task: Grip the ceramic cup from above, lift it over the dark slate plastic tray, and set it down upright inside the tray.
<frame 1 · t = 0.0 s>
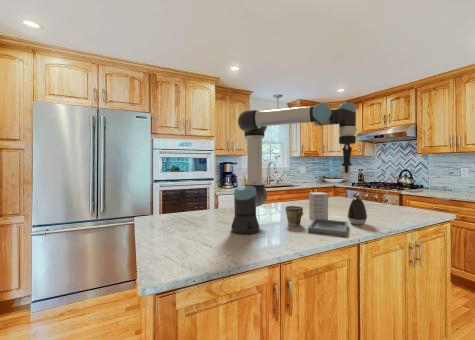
hand: (346, 179, 120), 28 cm above the worktop, tool pointing down, fingers open, 13 cm apart
ceramic cup: (295, 225, 141), on the worktop
dark grey egg shape: (357, 223, 143), on the worktop
tray: (328, 229, 132), on the worktop
supplement box: (318, 219, 153), on the worktop
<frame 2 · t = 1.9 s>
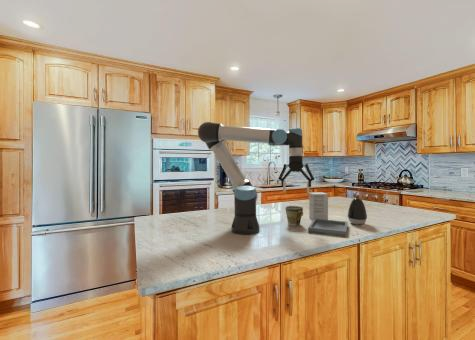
hand: (296, 192, 140), 19 cm above the worktop, tool pointing down, fingers open, 13 cm apart
nothing on the worktop moved.
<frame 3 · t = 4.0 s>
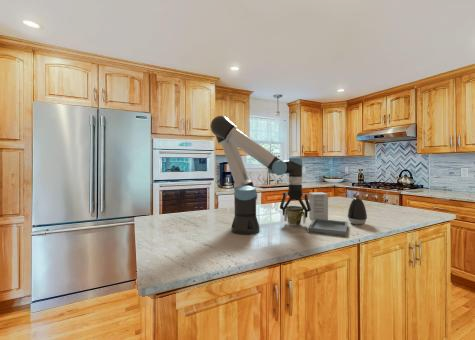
hand: (294, 222, 141), 2 cm above the worktop, tool pointing down, fingers closed on ceramic cup, 10 cm apart
ceramic cup: (295, 225, 140), on the worktop, touching gripper
everything else where it was.
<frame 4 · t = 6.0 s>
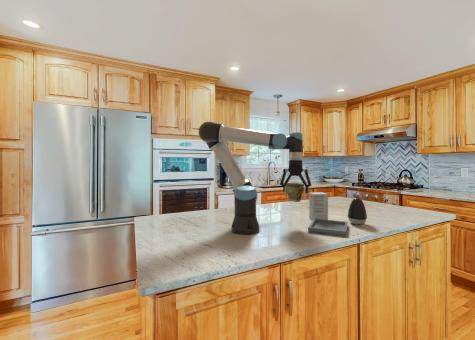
hand: (295, 198, 140), 16 cm above the worktop, tool pointing down, fingers closed on ceramic cup, 10 cm apart
ceramic cup: (296, 201, 140), point 14 cm above the worktop, touching gripper
everything else where it was.
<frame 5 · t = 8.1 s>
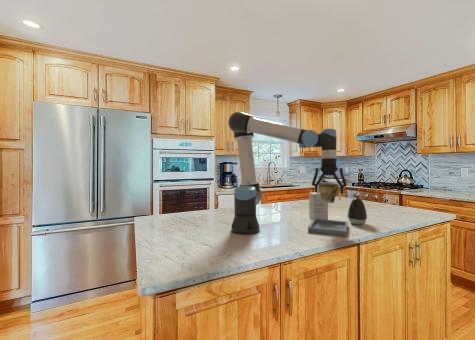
hand: (328, 199, 131), 16 cm above the worktop, tool pointing down, fingers closed on ceramic cup, 10 cm apart
ceramic cup: (329, 202, 131), point 14 cm above the worktop, touching gripper
everything else where it was.
when the fingers open (4 cm above the worktop, at t = 11.1 s): ceramic cup drops 1 cm, resting on tray.
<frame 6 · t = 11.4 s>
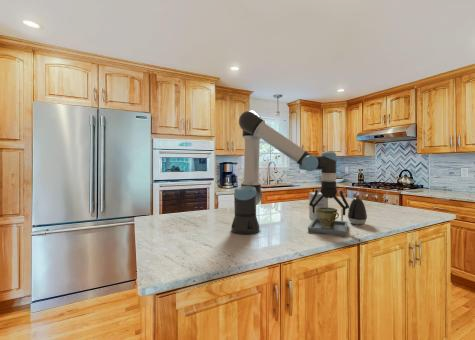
hand: (328, 219, 132), 5 cm above the worktop, tool pointing down, fingers open, 13 cm apart
ceramic cup: (329, 228, 131), point 1 cm above the worktop, touching tray
everything else where it was.
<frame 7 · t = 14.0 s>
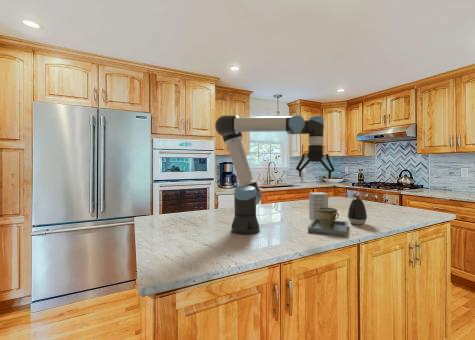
hand: (314, 183, 133), 24 cm above the worktop, tool pointing down, fingers open, 13 cm apart
nothing on the worktop moved.
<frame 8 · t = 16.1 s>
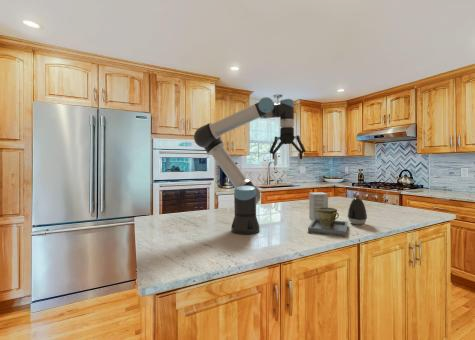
hand: (287, 165, 137), 35 cm above the worktop, tool pointing down, fingers open, 13 cm apart
nothing on the worktop moved.
at the end: ceramic cup inside the target area on the tray (0.5 cm from its centre), point 0.6 cm above the tray's base; ceramic cup tilted 0°; the gripper is holding nothing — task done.
